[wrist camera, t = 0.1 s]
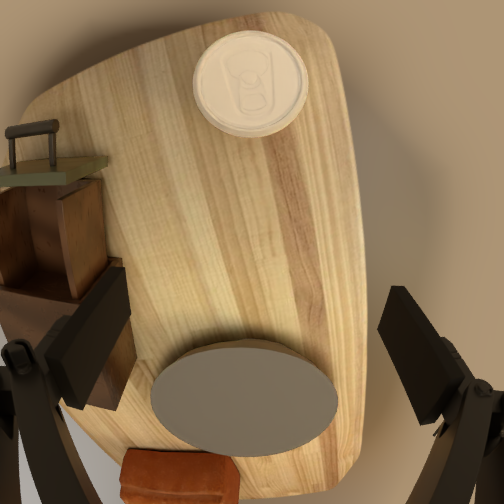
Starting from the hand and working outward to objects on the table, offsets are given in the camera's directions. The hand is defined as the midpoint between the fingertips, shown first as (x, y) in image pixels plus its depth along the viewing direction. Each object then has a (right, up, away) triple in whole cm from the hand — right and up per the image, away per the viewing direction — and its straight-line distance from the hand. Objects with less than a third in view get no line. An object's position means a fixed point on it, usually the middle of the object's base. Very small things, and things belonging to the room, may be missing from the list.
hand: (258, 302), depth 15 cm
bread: (-16, -46, +44) cm, 66 cm away
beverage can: (0, +18, +15) cm, 24 cm away
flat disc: (-2, -20, +32) cm, 38 cm away
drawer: (-23, +8, +18) cm, 31 cm away
